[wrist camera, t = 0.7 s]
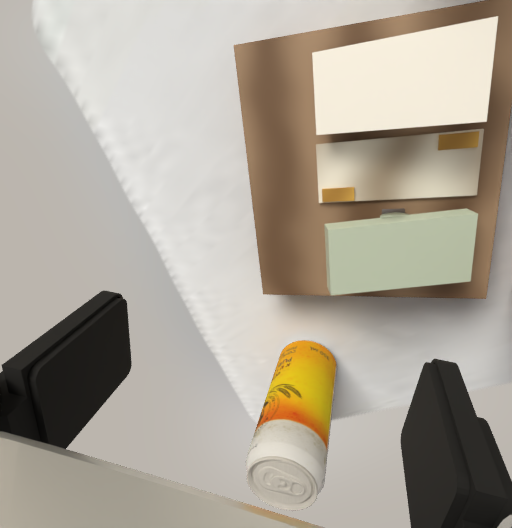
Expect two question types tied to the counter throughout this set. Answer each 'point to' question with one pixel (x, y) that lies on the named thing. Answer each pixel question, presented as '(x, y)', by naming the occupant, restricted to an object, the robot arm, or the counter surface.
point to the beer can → (294, 429)
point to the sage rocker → (400, 251)
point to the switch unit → (364, 155)
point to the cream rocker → (406, 80)
